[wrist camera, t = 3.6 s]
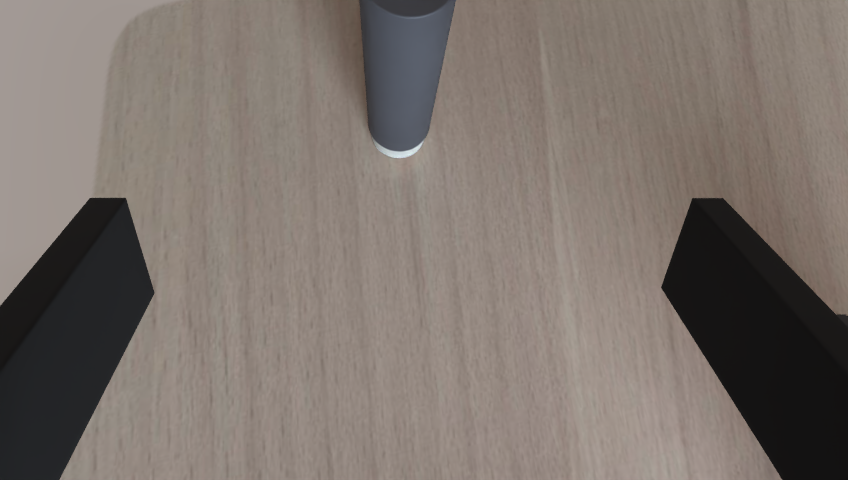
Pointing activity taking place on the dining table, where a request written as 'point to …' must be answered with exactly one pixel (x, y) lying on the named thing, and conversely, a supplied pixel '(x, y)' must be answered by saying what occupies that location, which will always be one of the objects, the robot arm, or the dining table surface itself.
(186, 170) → the dining table surface
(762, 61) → the dining table surface
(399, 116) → the grey cylinder
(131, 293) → the robot arm
